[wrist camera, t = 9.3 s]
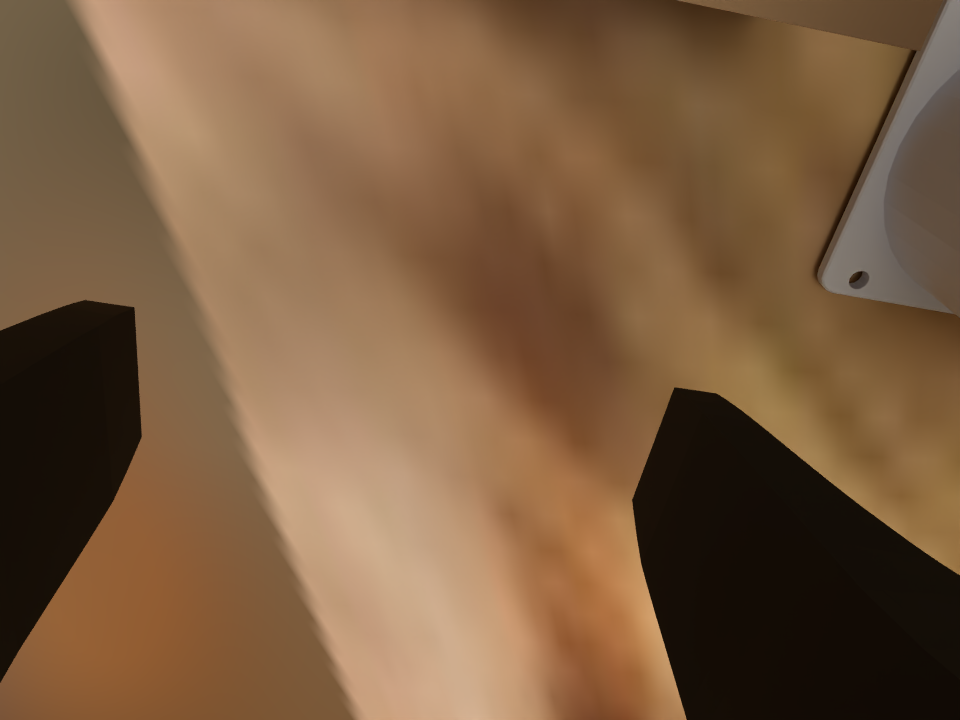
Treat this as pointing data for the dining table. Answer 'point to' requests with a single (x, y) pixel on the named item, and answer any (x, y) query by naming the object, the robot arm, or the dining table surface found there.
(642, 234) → the dining table surface
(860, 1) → the frame
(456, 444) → the dining table surface
